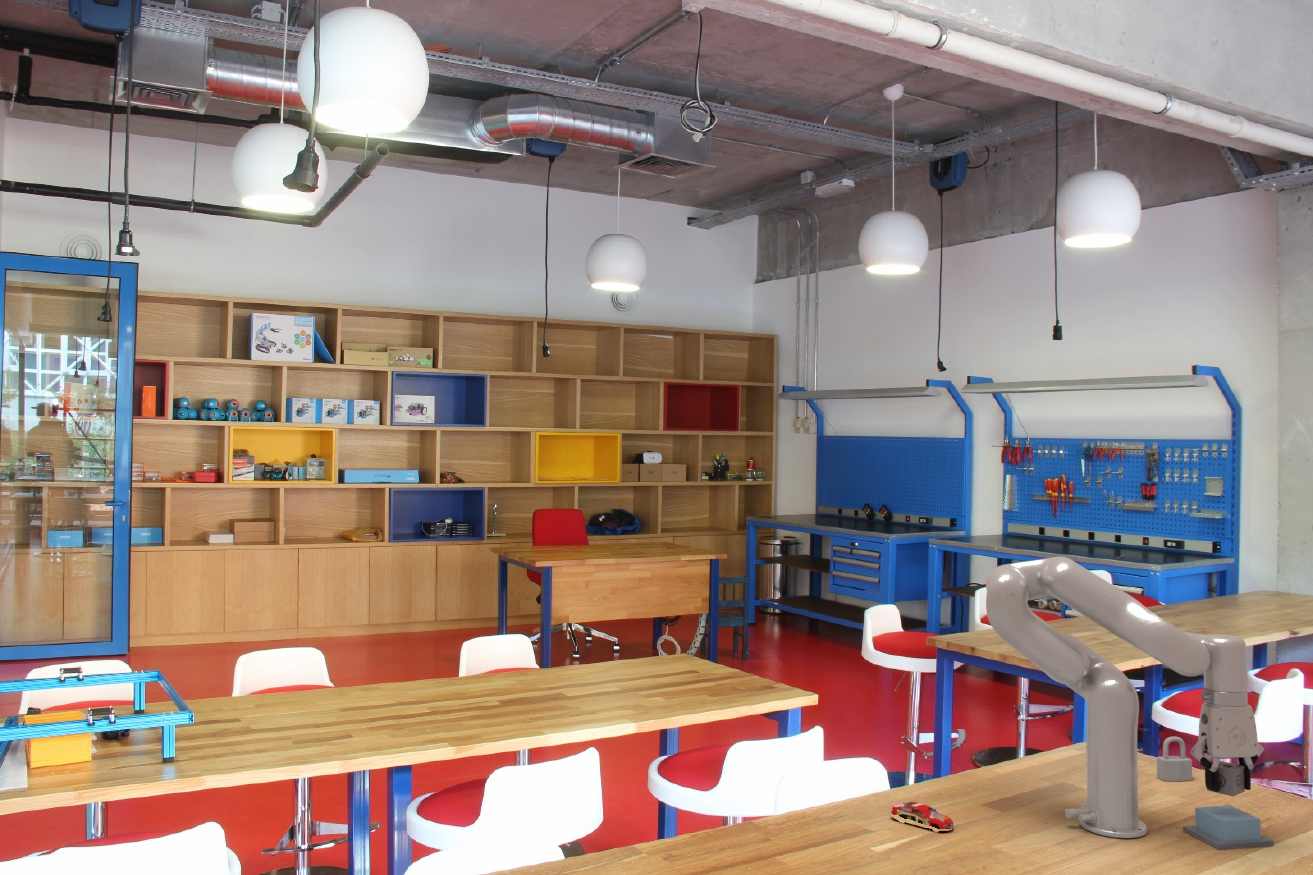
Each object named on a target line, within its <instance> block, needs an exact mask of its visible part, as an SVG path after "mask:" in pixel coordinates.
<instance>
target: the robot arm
mask: <svg viewBox="0 0 1313 875" xmlns="http://www.w3.org/2000/svg"><path fill="white" fill-rule="evenodd" d="M985 588H986V596H985V597H986V598H985V599H986V600H985V609H986V616H987V618H988V622H989V624H990V626H991V627H992V629H993V631H994V632H995V633H996V634H997V636H998V637H1000V639H1001V640H1003V641H1004V642H1005V643H1006V644H1008V645H1009V646H1010V647H1011V648H1013V649H1014V650H1015V651H1016V652H1017V653H1019V654H1020V655H1022V657H1024V658H1025V659H1026V660H1028V661H1029V662H1031V663H1032V664H1033V665H1035V666H1036V667H1037V668H1038V669H1039V670H1041V671H1042V672H1043V673H1045V674H1046V676H1048V677H1049V678H1050V680H1051V679H1052V680H1053V681H1055V682H1057V683H1059V684H1063V685H1066V686H1067V688H1070V689H1071V690H1072V691H1074V692H1075V693H1076V694H1078V695H1079V696H1080V697H1082V698H1083V699H1084V700H1085V701H1086V729H1085V734H1086V735H1085V736H1086V738H1085V740H1086V742H1085V744H1086V746H1085V747H1086V799H1087V800H1086V801H1082V802H1081V806H1079V807H1078V808H1065V810H1064V815H1065V817H1066V819H1068V820H1071V819H1074V820H1075V819H1078V821H1079V825H1080V826H1081V827H1082V828H1083V829H1085V830H1086V831H1089V832H1091V833H1093V834H1096V835H1100V836H1104V837H1108V838H1109V837H1111V838H1117V839H1134V838H1140V837H1144V836H1145V835H1146V834H1147V833H1148V832H1147V831H1148V827H1147V824H1146V823H1144V821H1142V820H1140V819H1139V787H1138V786H1139V783H1138V781H1139V780H1138V779H1139V778H1138V777H1139V776H1138V775H1139V773H1138V772H1139V771H1138V769H1139V768H1138V765H1139V764H1138V727H1139V726H1138V725H1139V715H1140V714H1139V712H1140V702H1139V701H1140V700H1139V696H1138V692H1137V690H1136V687H1135V685H1134V684H1133V683H1132V681H1131V680H1130V679H1129V677H1127V676H1126V674H1124V673H1123V672H1122V670H1120V669H1119V668H1118V667H1117V666H1115V665H1114V664H1112V663H1111V662H1110V661H1108V660H1107V659H1106V658H1104V657H1103V656H1101V655H1100V654H1099V653H1098V652H1096V651H1095V650H1093V649H1092V648H1091V647H1089V646H1088V645H1086V644H1085V643H1084V642H1082V640H1080V639H1078V638H1077V637H1075V636H1074V635H1071V634H1069V633H1066V632H1062V631H1061V632H1060V631H1058V630H1057V629H1055V628H1054V627H1053V626H1051V625H1050V624H1049V623H1047V622H1046V621H1045V620H1044V619H1043V618H1041V617H1040V616H1038V615H1037V614H1036V613H1034V612H1033V611H1032V609H1031V608H1030V606H1029V603H1028V601H1034V600H1039V599H1046V598H1052V597H1053V598H1055V599H1056V600H1058V601H1059V602H1061V603H1063V604H1064V605H1066V606H1068V607H1070V608H1071V609H1073V610H1074V611H1076V612H1078V613H1079V614H1081V615H1083V616H1084V617H1086V618H1087V619H1089V620H1090V621H1092V622H1093V623H1095V624H1096V625H1098V626H1100V627H1101V628H1103V629H1105V630H1106V631H1108V632H1109V633H1111V634H1113V635H1114V636H1115V637H1117V638H1119V639H1121V640H1123V641H1125V642H1127V643H1128V644H1131V645H1132V646H1134V647H1135V648H1137V649H1139V650H1140V651H1142V652H1143V653H1145V654H1146V655H1148V656H1150V657H1151V658H1153V659H1154V660H1156V661H1157V662H1160V663H1161V664H1162V665H1164V666H1166V667H1167V668H1169V669H1171V670H1172V671H1174V672H1176V673H1177V674H1180V675H1181V676H1185V677H1198V676H1200V675H1202V674H1203V693H1200V694H1199V697H1200V699H1201V701H1204V702H1203V703H1202V704H1201V708H1200V715H1199V719H1198V720H1199V722H1198V740H1197V742H1196V743H1195V744H1194V746H1193V747H1192V748H1191V749H1190V751H1189V754H1190V755H1192V757H1193V758H1194V759H1195V760H1196V761H1197V762H1198V763H1199V765H1201V768H1202V769H1204V782H1205V788H1206V790H1207V789H1210V790H1212V791H1214V792H1213V793H1216V792H1219V791H1220V779H1219V772H1217V771H1216V770H1217V767H1218V764H1219V761H1221V760H1229V759H1236V761H1237V763H1238V765H1242V766H1244V782H1245V791H1246V790H1247V791H1251V790H1252V788H1251V786H1252V785H1251V784H1252V779H1251V778H1252V777H1251V774H1252V773H1251V770H1253V769H1254V767H1255V766H1254V764H1255V763H1256V762H1257V761H1258V760H1259V757H1260V756H1261V755H1262V754H1263V752H1264V751H1265V748H1264V747H1263V745H1262V744H1260V742H1259V741H1258V731H1257V724H1256V718H1255V714H1254V710H1253V708H1252V706H1251V705H1250V704H1248V702H1249V701H1248V673H1247V672H1248V668H1247V644H1246V641H1245V640H1244V639H1243V638H1242V637H1240V636H1236V635H1233V634H1232V635H1231V634H1225V633H1224V634H1223V633H1217V634H1216V633H1214V634H1201V633H1195V632H1188V631H1183V630H1181V629H1180V628H1178V627H1176V626H1175V625H1173V624H1171V623H1170V622H1168V621H1166V620H1165V619H1164V618H1162V617H1160V616H1159V615H1157V614H1156V613H1154V612H1153V611H1151V610H1150V609H1149V608H1147V607H1146V606H1144V604H1142V603H1141V602H1140V601H1139V600H1137V599H1136V598H1134V597H1133V596H1132V595H1130V594H1128V593H1127V592H1125V591H1124V590H1122V589H1120V588H1118V587H1117V586H1115V585H1113V584H1112V583H1110V582H1108V581H1107V580H1106V579H1103V578H1102V577H1100V576H1099V575H1097V574H1095V573H1093V572H1092V571H1090V570H1088V569H1087V568H1085V567H1084V566H1082V565H1081V564H1079V563H1077V562H1076V561H1074V560H1072V559H1071V558H1069V557H1066V556H1054V557H1049V558H1048V557H1047V558H1041V559H1035V560H1034V559H1033V560H1027V561H1026V560H1025V561H1020V562H1014V563H1012V562H1011V563H1006V564H1001V565H998V566H996V567H994V568H993V569H992V570H991V571H990V572H989V573H988V574H987V577H986V579H985ZM1203 754H1204V755H1203ZM1212 791H1211V792H1212Z"/></svg>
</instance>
